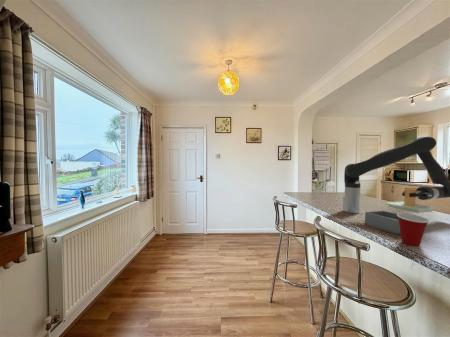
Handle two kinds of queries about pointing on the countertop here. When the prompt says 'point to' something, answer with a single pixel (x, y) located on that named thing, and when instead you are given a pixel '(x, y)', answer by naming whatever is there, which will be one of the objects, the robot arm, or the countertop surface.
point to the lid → (410, 203)
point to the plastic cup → (412, 228)
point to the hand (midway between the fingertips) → (406, 194)
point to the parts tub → (383, 221)
